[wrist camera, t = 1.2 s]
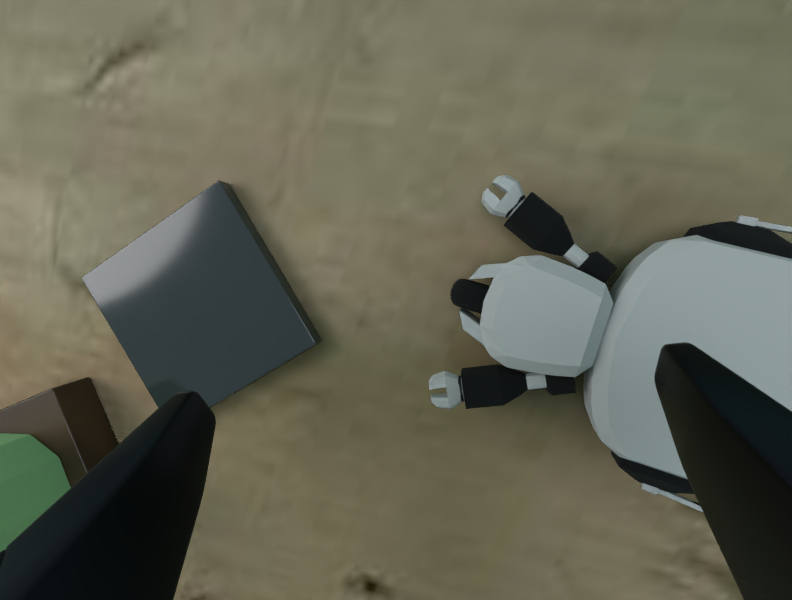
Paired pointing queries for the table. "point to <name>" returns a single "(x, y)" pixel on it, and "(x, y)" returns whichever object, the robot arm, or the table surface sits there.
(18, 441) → the green faceted hollow cylinder
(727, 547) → the robot arm
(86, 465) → the stacking stand
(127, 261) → the slate coaster
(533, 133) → the table surface
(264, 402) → the table surface
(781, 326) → the robot toy
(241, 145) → the table surface
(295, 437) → the table surface
